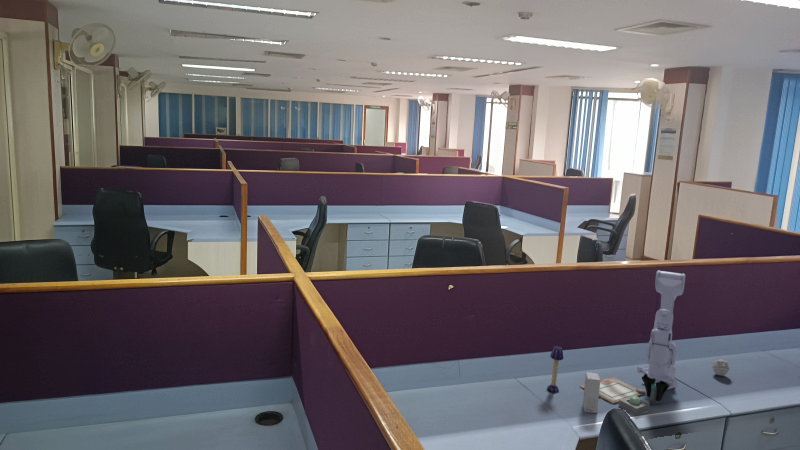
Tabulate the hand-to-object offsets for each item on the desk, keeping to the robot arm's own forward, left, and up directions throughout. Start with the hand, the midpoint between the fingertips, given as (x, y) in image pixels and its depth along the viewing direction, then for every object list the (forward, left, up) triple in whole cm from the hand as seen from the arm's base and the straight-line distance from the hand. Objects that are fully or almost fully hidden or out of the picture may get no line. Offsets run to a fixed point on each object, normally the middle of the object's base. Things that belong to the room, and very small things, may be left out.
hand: (654, 398), depth 202 cm
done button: (+10, 0, -2) cm, 10 cm away
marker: (0, 0, -2) cm, 2 cm away
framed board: (+5, -14, -2) cm, 15 cm away
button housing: (+10, 0, -2) cm, 10 cm away
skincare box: (+24, -8, -2) cm, 25 cm away
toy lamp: (+25, -24, -2) cm, 34 cm away
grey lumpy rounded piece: (-46, -4, -2) cm, 46 cm away
